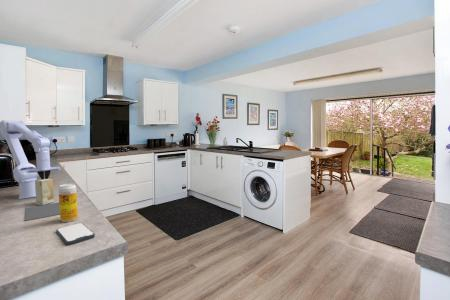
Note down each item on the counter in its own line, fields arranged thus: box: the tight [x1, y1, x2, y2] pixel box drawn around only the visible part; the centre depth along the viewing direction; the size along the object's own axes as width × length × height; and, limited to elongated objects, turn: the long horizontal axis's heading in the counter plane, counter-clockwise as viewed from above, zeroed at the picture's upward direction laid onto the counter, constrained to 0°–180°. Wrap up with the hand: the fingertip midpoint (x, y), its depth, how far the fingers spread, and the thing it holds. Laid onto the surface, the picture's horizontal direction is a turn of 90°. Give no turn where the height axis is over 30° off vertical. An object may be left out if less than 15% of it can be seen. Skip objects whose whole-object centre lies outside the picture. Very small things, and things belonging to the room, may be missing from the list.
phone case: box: [55, 222, 96, 246], centre depth 84 cm, size 9×2×16 cm
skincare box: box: [35, 178, 55, 206], centre depth 118 cm, size 6×4×12 cm
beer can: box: [58, 183, 79, 223], centre depth 97 cm, size 6×6×15 cm
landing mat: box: [24, 202, 60, 222], centre depth 109 cm, size 20×15×1 cm
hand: (45, 184), depth 125 cm, fingers closed
